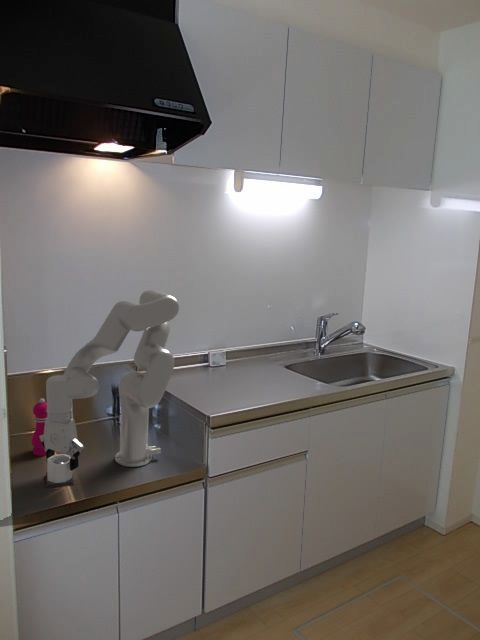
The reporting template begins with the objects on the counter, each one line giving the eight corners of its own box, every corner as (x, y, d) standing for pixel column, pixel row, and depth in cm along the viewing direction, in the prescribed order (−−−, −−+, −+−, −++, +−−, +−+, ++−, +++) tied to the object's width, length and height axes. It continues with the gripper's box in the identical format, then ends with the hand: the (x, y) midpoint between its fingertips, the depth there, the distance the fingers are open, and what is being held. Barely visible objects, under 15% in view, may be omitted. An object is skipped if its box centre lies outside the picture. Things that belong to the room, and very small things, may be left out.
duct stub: (71, 472, 181) (72, 455, 180) (73, 484, 173) (73, 467, 172) (46, 475, 178) (46, 458, 177) (46, 487, 171) (46, 469, 169)
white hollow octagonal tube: (59, 469, 180) (59, 452, 179) (76, 475, 177) (76, 458, 176) (42, 478, 174) (42, 461, 173) (60, 484, 171) (60, 467, 170)
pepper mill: (57, 449, 196) (57, 396, 192) (44, 458, 189) (44, 403, 185) (40, 446, 198) (39, 393, 194) (27, 454, 191) (26, 400, 187)
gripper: (30, 413, 172) (33, 463, 176) (73, 425, 165) (75, 476, 168) (48, 405, 178) (50, 454, 182) (90, 416, 171) (91, 466, 175)
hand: (62, 464), depth 175 cm, fingers open, 9 cm apart
